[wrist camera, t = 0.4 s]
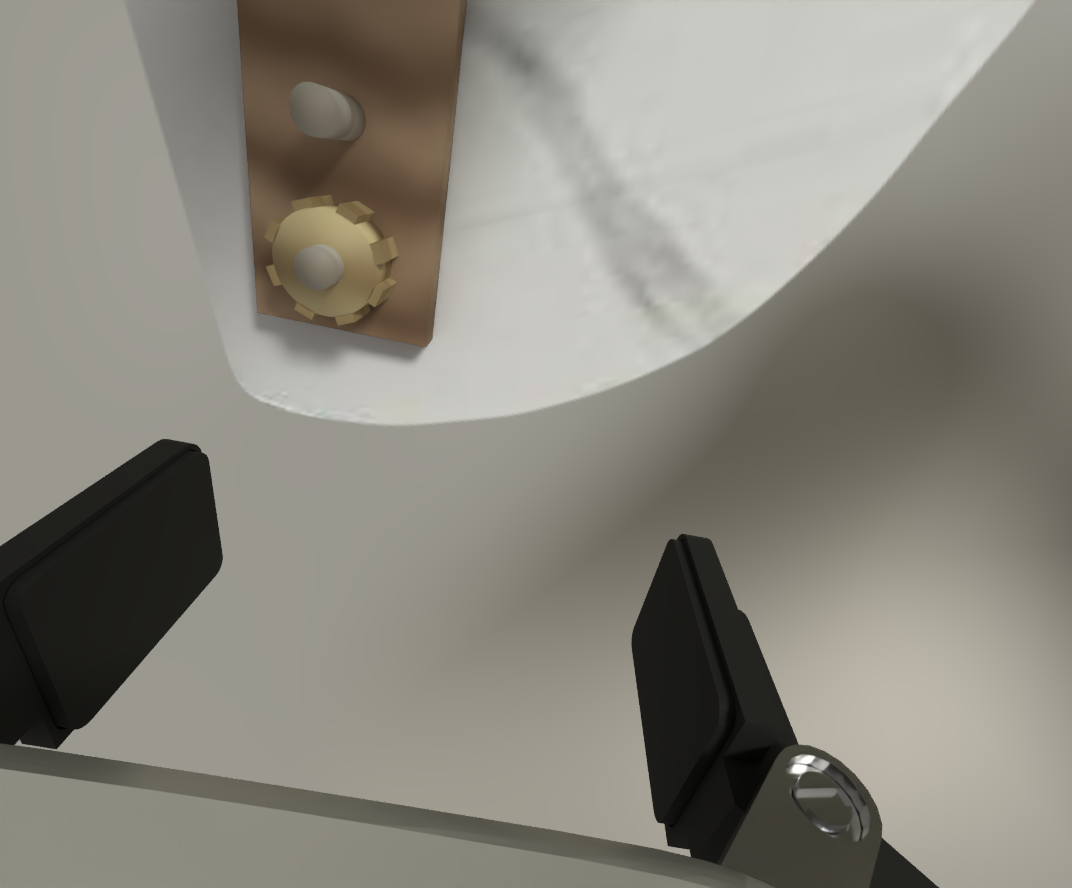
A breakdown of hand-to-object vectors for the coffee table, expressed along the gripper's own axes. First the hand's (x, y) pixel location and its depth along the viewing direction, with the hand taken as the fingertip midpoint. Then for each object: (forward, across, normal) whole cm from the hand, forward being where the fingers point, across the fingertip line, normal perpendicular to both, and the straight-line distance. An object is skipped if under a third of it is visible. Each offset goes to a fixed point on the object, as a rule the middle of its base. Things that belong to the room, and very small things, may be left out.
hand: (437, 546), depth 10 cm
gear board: (+29, +12, -4) cm, 32 cm away
